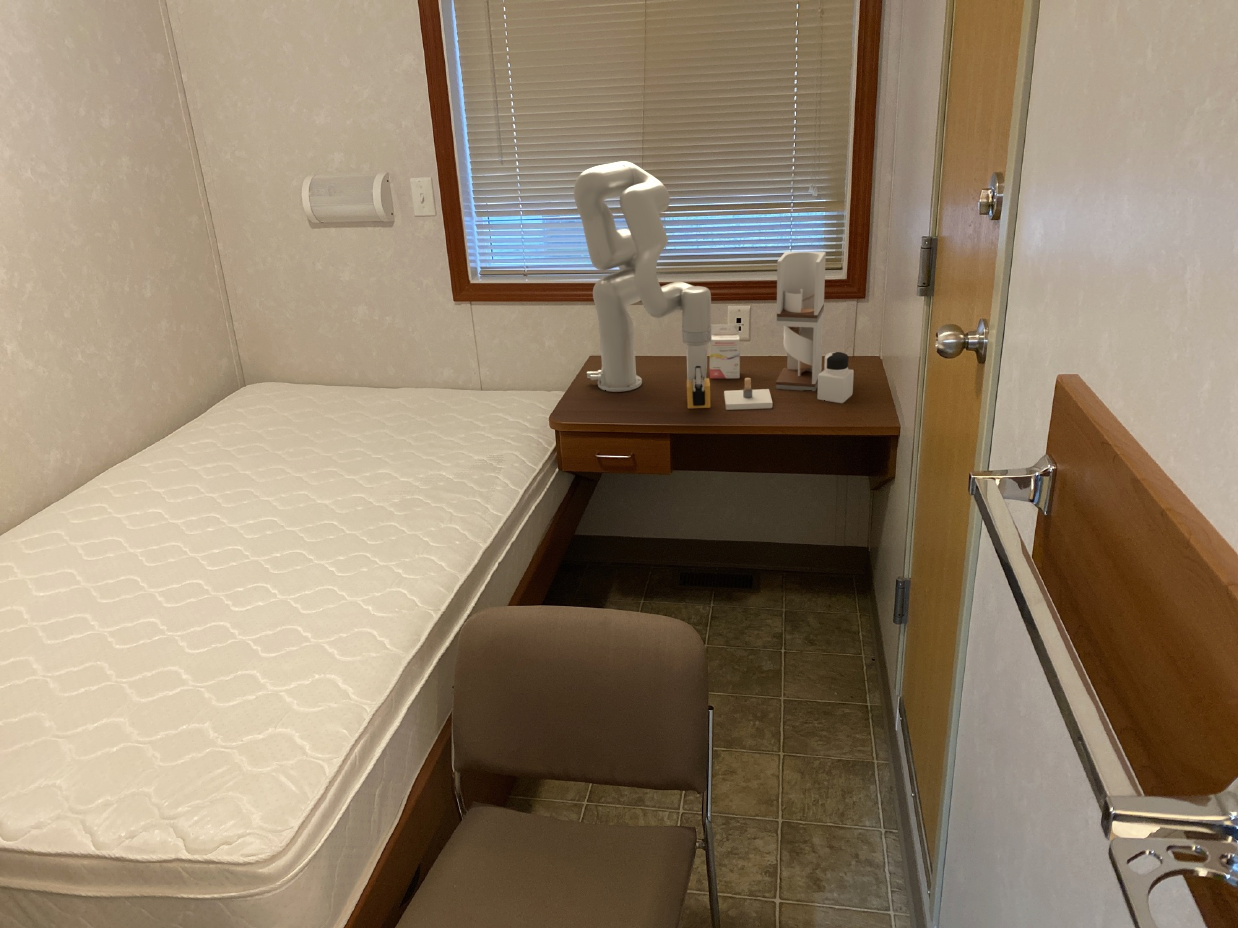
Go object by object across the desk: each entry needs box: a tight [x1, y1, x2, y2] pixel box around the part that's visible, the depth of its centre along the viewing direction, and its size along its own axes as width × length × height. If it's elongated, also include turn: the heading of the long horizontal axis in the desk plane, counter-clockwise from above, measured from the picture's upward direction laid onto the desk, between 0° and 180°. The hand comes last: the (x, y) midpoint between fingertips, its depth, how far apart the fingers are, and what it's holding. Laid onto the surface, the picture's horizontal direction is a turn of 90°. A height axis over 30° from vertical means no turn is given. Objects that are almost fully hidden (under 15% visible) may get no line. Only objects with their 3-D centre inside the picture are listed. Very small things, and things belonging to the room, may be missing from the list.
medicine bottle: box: [816, 351, 855, 404], centre depth 239 cm, size 7×7×12 cm
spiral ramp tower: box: [775, 251, 827, 392], centre depth 245 cm, size 11×11×35 cm
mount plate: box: [723, 377, 773, 411], centre depth 241 cm, size 12×10×6 cm
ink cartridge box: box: [709, 323, 741, 380], centre depth 258 cm, size 9×5×15 cm, turn 84°
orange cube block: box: [686, 377, 711, 409], centre depth 242 cm, size 6×6×6 cm
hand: (698, 400), depth 242 cm, fingers closed on orange cube block, 5 cm apart
